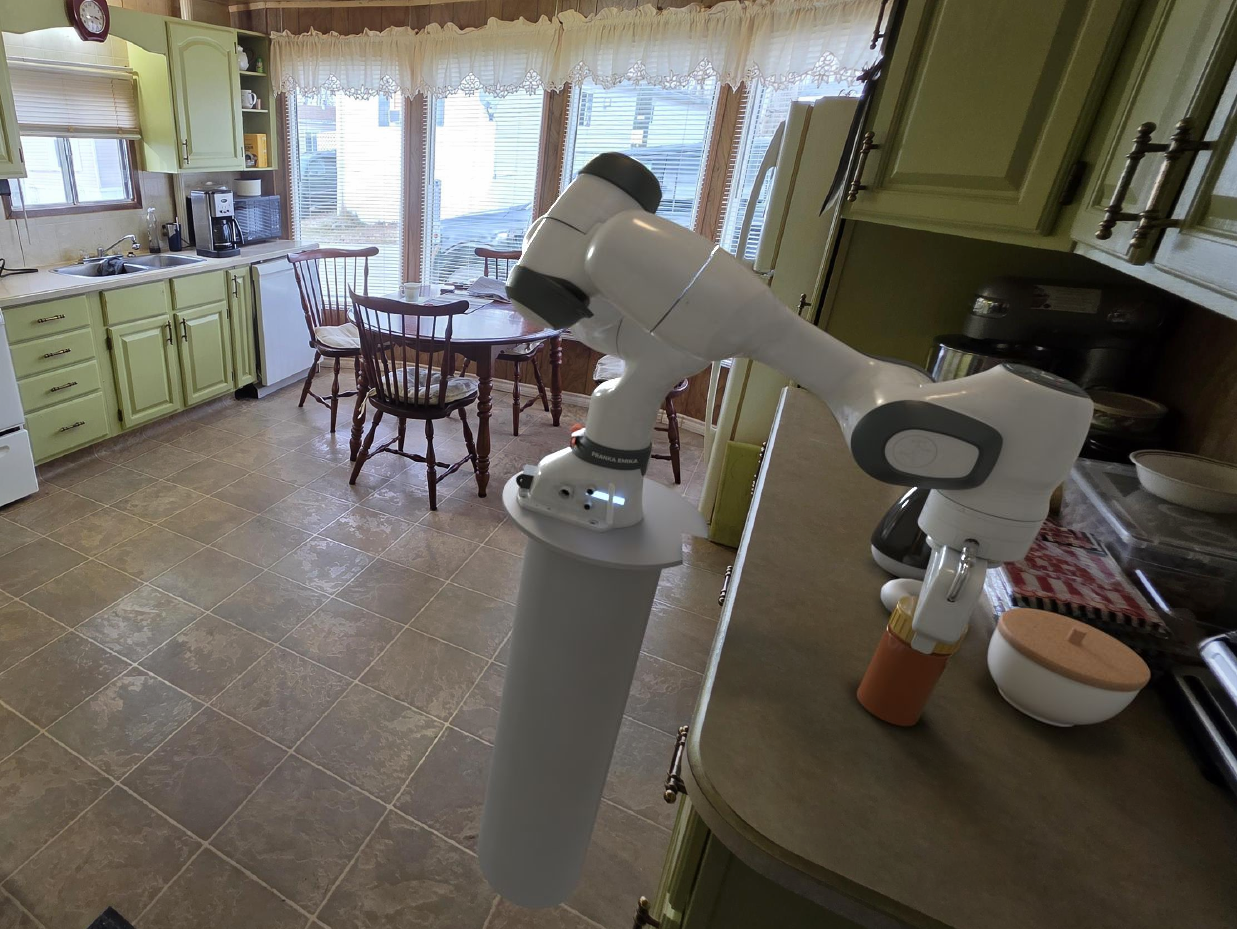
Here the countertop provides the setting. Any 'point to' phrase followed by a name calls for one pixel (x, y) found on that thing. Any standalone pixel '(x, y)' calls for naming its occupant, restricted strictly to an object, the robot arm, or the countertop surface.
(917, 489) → the glossy black oval piece
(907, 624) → the lid
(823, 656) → the countertop surface
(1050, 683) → the lidded bowl
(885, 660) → the jar
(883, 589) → the donut
